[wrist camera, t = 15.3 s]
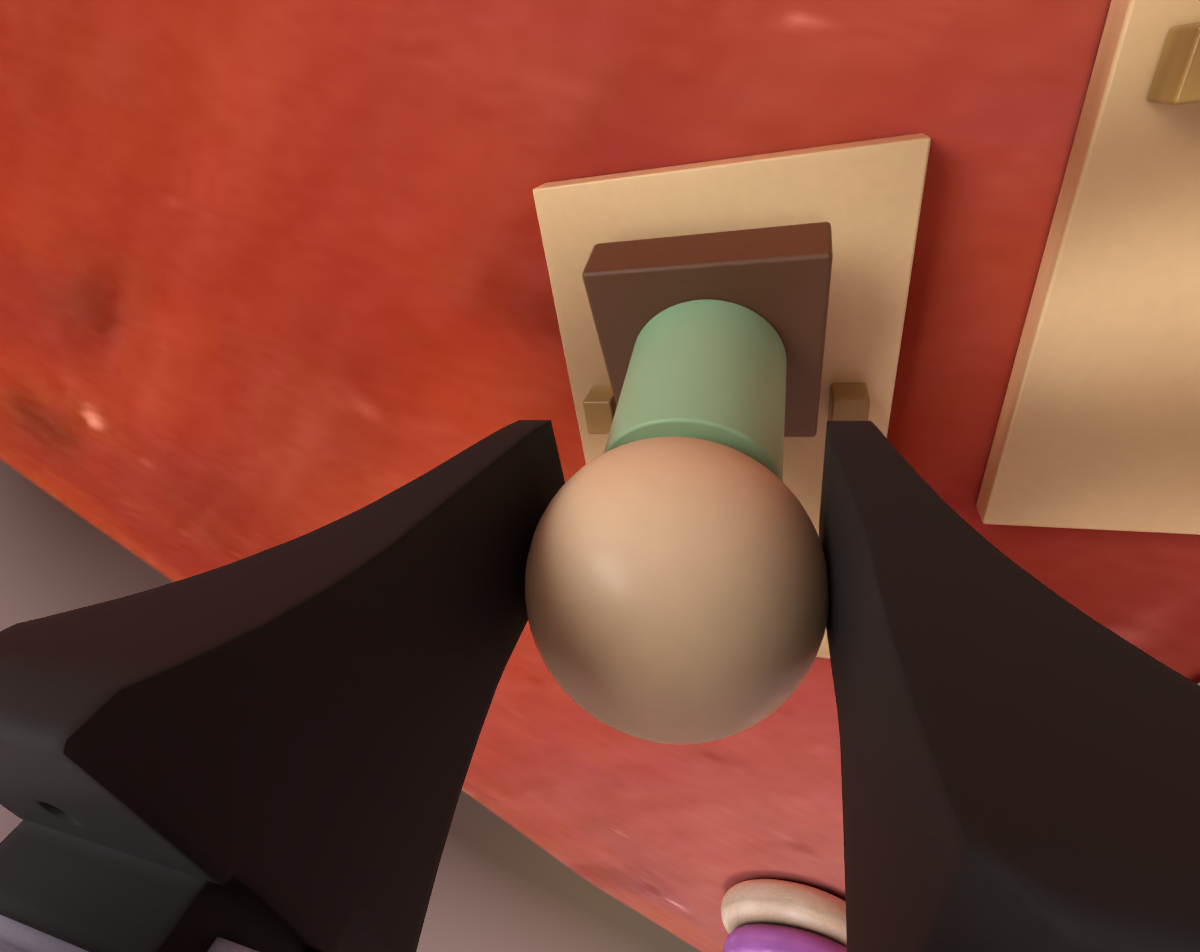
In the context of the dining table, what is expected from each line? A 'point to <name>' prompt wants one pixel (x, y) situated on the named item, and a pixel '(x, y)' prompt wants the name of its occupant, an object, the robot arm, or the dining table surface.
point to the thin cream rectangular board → (748, 201)
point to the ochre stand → (1115, 303)
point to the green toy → (692, 489)
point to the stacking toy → (782, 918)
